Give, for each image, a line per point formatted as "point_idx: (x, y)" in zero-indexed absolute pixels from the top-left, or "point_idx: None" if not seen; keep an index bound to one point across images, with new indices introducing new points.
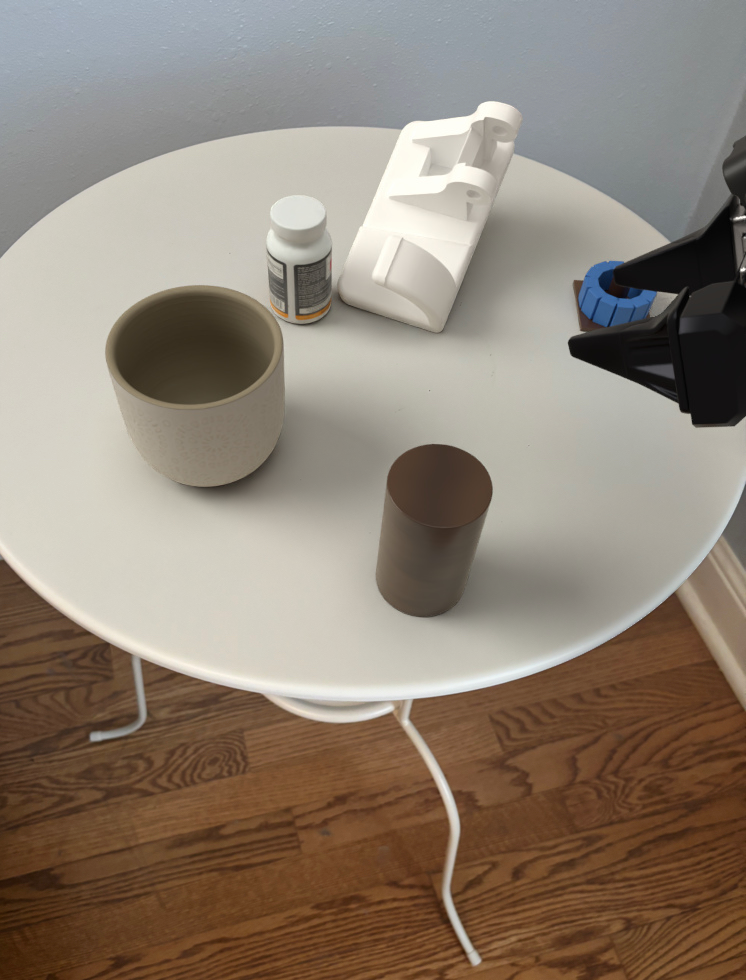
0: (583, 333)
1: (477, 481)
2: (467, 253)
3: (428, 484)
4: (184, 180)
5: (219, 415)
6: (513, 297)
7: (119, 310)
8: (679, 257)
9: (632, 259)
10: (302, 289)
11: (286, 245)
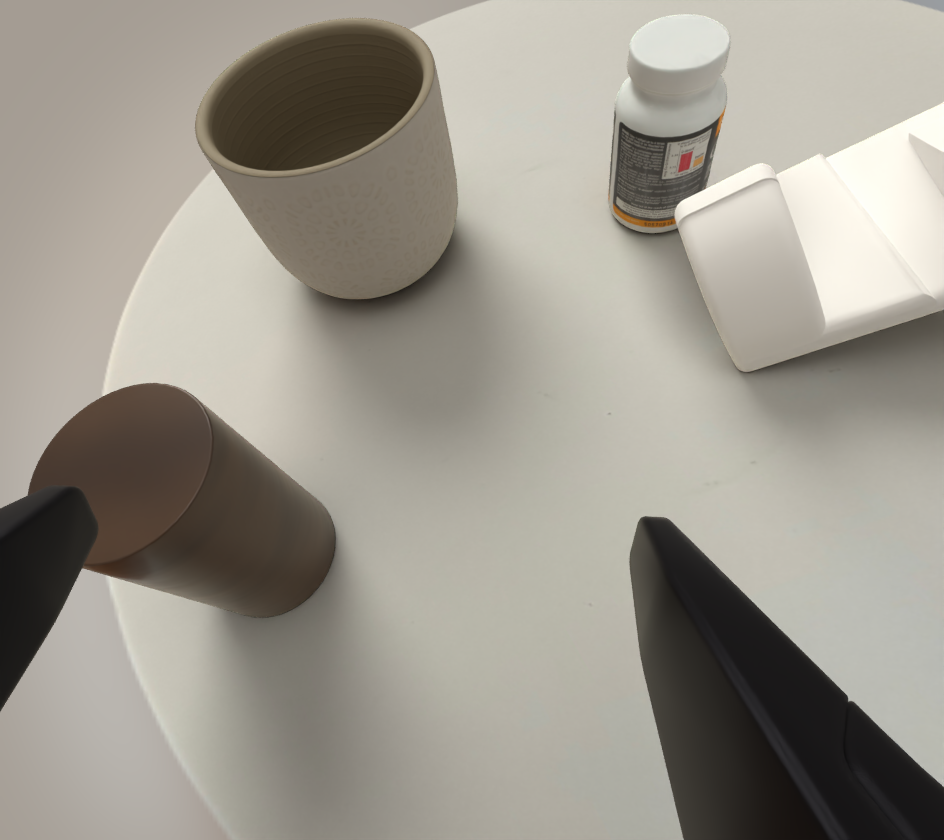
0: (28, 512)
1: (137, 523)
2: (904, 301)
3: (116, 450)
4: (768, 6)
5: (223, 177)
6: (933, 438)
7: (516, 85)
8: (761, 805)
9: (703, 560)
10: (623, 168)
11: (631, 85)
